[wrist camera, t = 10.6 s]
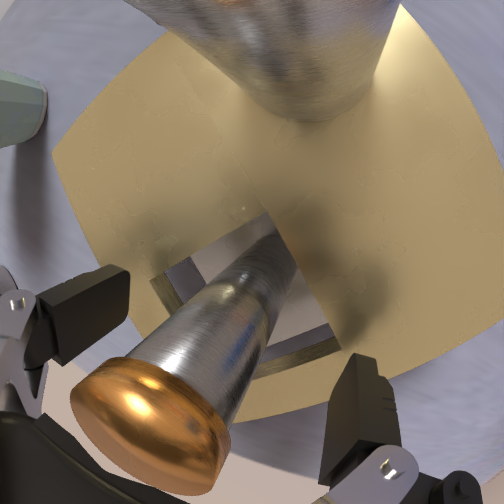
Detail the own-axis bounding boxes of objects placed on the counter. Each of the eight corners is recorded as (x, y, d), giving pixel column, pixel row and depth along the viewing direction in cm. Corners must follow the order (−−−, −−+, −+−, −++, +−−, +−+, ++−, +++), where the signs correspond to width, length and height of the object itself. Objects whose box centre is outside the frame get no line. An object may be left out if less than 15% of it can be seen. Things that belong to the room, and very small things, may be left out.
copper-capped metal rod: (264, 294, 18) (140, 488, 5) (236, 247, 18) (50, 391, 5) (312, 271, 17) (248, 498, 4) (284, 220, 17) (128, 370, 4)
